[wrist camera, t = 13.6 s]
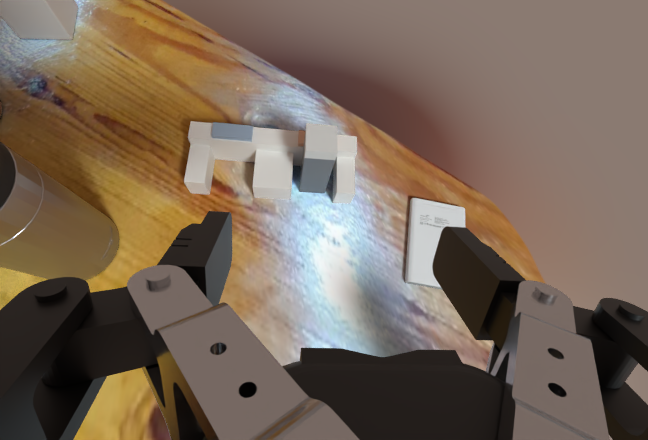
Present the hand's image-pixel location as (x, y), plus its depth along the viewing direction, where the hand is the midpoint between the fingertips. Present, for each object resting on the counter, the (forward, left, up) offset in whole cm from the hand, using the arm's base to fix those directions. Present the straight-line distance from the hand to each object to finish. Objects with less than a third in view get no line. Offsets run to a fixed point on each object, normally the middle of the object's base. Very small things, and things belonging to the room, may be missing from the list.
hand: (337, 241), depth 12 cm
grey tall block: (+1, +18, -31) cm, 36 cm away
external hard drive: (+19, +9, -31) cm, 38 cm away
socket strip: (-4, +19, -31) cm, 36 cm away
